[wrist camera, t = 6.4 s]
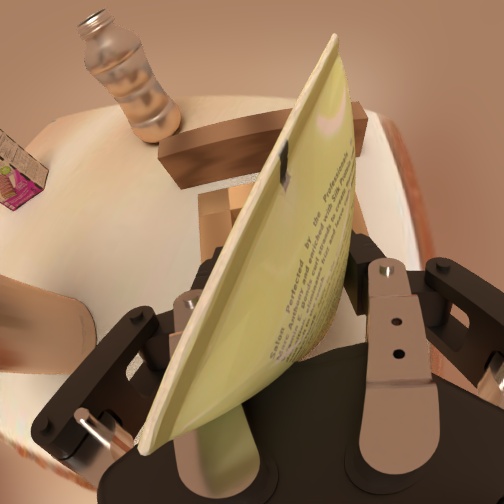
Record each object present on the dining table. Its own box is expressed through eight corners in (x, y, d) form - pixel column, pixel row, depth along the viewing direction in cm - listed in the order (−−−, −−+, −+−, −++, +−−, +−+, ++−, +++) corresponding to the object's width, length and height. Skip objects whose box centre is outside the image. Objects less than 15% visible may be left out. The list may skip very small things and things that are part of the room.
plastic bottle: (176, 147, 31) (97, 19, 13) (135, 151, 33) (52, 45, 14) (191, 112, 33) (132, -7, 15) (151, 117, 35) (86, 15, 16)
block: (226, 305, 24) (203, 293, 19) (218, 224, 27) (197, 194, 21) (358, 282, 23) (376, 264, 17) (338, 202, 25) (346, 167, 20)
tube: (252, 294, 22) (96, 105, 4) (310, 272, 22) (338, 26, 4) (274, 359, 20) (133, 458, 2) (335, 337, 20) (536, 285, 2)
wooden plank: (181, 189, 29) (157, 158, 23) (181, 171, 30) (159, 139, 24) (359, 156, 27) (368, 118, 21) (352, 139, 28) (358, 101, 22)
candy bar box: (13, 213, 36) (-44, 176, 21) (18, 192, 38) (-35, 154, 23) (44, 191, 35) (-19, 142, 20) (49, 169, 37) (-7, 120, 22)
